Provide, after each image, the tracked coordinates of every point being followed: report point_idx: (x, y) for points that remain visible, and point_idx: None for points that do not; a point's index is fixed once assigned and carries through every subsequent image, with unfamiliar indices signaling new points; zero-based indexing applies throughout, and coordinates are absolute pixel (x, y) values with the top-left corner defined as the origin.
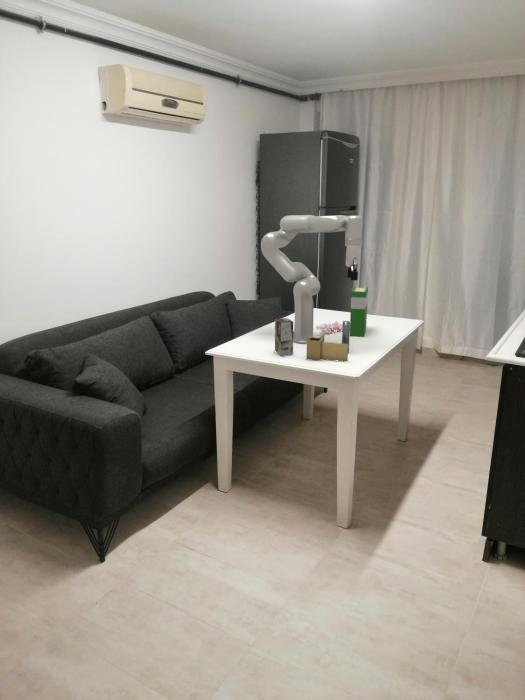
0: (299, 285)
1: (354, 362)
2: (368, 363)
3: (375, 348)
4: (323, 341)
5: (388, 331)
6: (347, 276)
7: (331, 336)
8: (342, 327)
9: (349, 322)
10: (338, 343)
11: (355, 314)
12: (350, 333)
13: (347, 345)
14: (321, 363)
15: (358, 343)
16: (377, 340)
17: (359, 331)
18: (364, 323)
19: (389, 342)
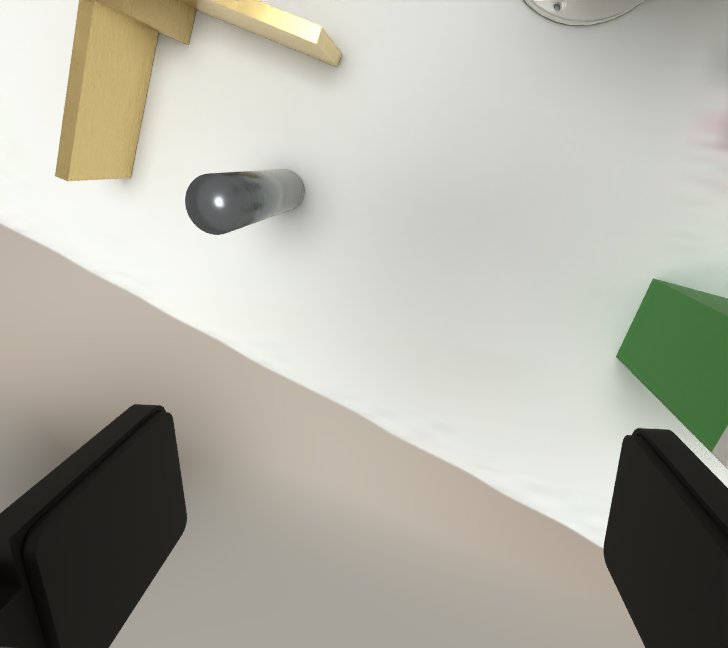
0: None
1: (116, 209)
2: (110, 272)
3: (367, 362)
4: (134, 17)
5: None
6: (659, 437)
7: (678, 157)
8: (230, 172)
9: (199, 227)
10: (69, 118)
11: (721, 361)
12: (659, 287)
13: (59, 174)
14: (71, 23)
15: (475, 298)
16: (528, 409)
17: (642, 344)
18: (656, 395)
19: (479, 454)
